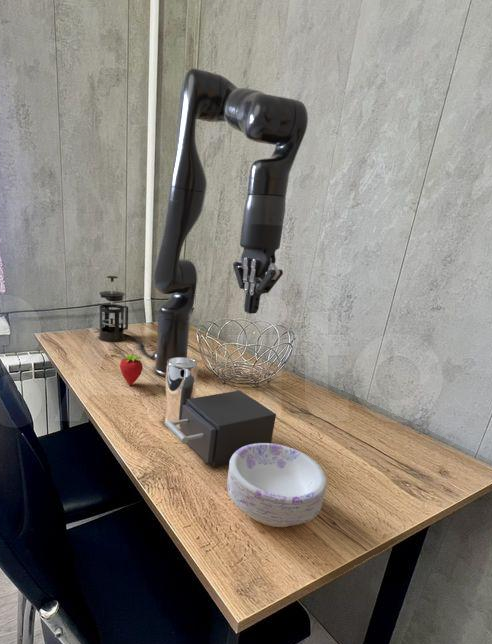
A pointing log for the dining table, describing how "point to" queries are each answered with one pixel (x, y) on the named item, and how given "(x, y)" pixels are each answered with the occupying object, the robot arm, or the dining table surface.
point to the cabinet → (234, 422)
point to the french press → (109, 330)
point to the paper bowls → (276, 484)
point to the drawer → (195, 432)
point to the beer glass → (179, 386)
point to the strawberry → (131, 368)
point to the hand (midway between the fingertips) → (250, 312)
